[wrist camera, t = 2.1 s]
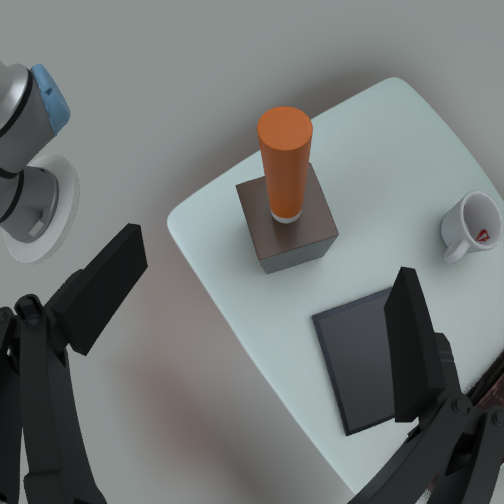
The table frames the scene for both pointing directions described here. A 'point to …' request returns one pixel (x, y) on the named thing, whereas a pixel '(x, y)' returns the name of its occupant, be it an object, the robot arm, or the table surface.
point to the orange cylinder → (285, 159)
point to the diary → (486, 395)
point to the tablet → (358, 360)
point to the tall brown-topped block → (287, 225)
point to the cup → (471, 226)
